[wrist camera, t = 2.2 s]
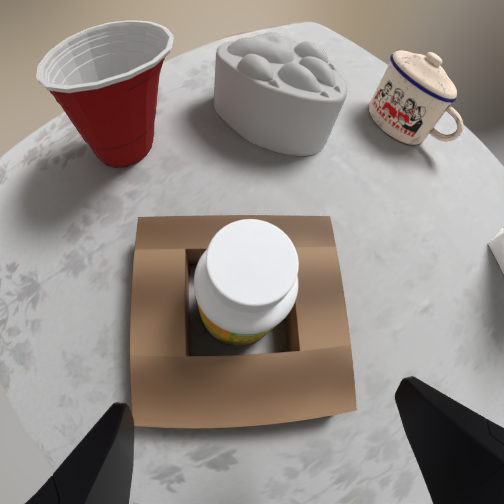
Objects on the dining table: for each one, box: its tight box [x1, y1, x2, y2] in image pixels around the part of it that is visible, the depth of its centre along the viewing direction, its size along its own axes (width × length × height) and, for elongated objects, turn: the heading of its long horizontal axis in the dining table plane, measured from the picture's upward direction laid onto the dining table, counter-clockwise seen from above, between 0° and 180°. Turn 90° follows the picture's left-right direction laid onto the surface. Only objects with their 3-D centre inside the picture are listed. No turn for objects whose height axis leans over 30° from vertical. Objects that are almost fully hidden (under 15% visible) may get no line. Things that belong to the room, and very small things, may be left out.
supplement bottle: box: [194, 219, 299, 346], centre depth 17 cm, size 5×5×10 cm
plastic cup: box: [36, 20, 174, 168], centre depth 21 cm, size 11×11×12 cm
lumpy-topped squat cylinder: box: [214, 33, 347, 156], centre depth 26 cm, size 10×13×9 cm
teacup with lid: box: [369, 51, 463, 145], centre depth 27 cm, size 12×9×12 cm
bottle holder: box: [130, 215, 357, 428], centre depth 20 cm, size 14×14×3 cm
